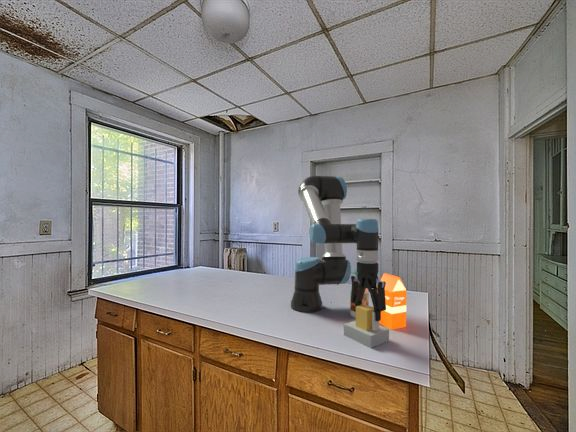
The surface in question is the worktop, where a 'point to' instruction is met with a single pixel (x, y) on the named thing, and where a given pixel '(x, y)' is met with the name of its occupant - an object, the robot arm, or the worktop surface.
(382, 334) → the toggle switch box
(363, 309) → the yellow rectangular block
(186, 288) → the worktop surface
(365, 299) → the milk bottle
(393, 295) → the orange juice
